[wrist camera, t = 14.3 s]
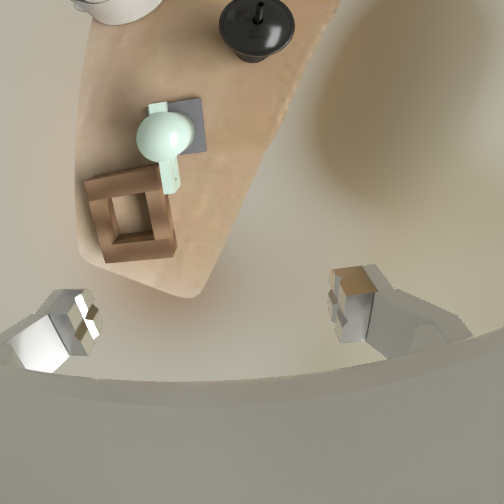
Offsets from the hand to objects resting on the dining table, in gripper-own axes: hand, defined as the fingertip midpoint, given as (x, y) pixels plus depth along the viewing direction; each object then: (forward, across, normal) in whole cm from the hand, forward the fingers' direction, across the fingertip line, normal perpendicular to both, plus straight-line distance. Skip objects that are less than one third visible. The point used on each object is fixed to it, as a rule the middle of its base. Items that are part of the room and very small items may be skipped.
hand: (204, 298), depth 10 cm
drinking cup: (+37, -4, -15) cm, 40 cm away
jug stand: (+37, +17, +8) cm, 42 cm away
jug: (+36, +8, -2) cm, 37 cm away
